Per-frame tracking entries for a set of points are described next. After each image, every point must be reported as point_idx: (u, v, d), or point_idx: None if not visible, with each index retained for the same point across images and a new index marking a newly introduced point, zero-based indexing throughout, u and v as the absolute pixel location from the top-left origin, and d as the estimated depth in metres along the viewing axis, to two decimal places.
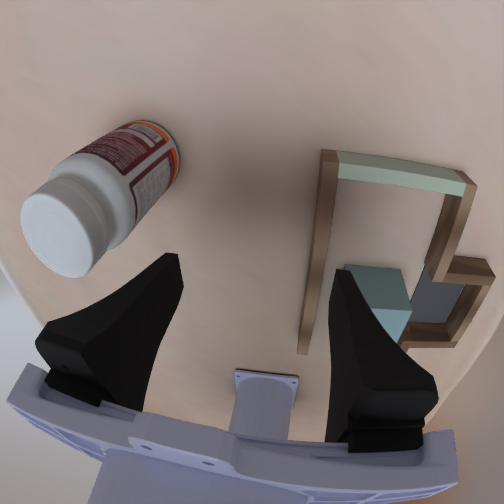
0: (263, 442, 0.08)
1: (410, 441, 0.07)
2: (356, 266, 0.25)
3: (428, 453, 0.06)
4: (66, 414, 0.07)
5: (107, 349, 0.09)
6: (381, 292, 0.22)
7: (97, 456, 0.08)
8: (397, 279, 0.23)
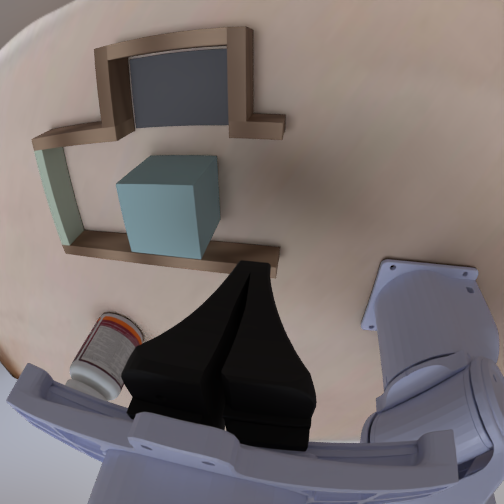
0: None
1: (292, 441, 0.07)
2: None
3: (428, 453, 0.06)
4: (66, 414, 0.07)
5: (214, 373, 0.08)
6: None
7: (97, 456, 0.08)
8: None
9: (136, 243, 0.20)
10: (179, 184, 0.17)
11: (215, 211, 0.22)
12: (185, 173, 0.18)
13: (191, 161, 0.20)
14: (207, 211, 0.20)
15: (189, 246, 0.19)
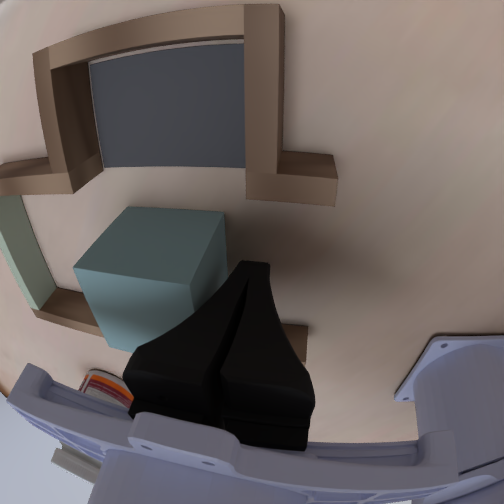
0: None
1: (291, 441, 0.07)
2: None
3: (428, 453, 0.06)
4: (66, 414, 0.07)
5: (215, 373, 0.08)
6: None
7: (97, 456, 0.08)
8: None
9: (114, 340, 0.13)
10: (166, 280, 0.10)
11: None
12: (176, 252, 0.12)
13: (186, 223, 0.13)
14: None
15: None
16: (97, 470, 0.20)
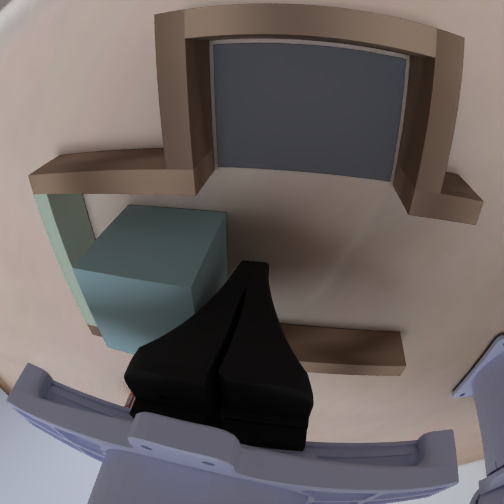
0: None
1: (289, 440, 0.07)
2: None
3: (428, 453, 0.06)
4: (66, 414, 0.07)
5: (217, 373, 0.08)
6: None
7: (97, 456, 0.08)
8: None
9: (112, 340, 0.13)
10: (167, 283, 0.10)
11: None
12: (177, 254, 0.11)
13: (187, 224, 0.13)
14: None
15: None
16: None
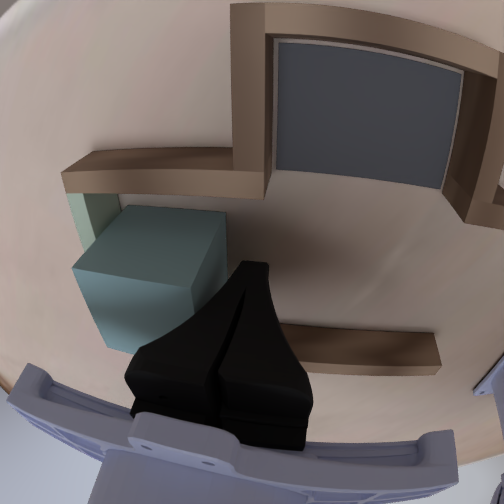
0: None
1: (289, 440, 0.07)
2: None
3: (428, 453, 0.06)
4: (66, 414, 0.07)
5: (217, 373, 0.08)
6: None
7: (97, 456, 0.08)
8: None
9: (112, 340, 0.13)
10: (167, 283, 0.10)
11: None
12: (177, 254, 0.11)
13: (186, 224, 0.13)
14: None
15: None
16: None
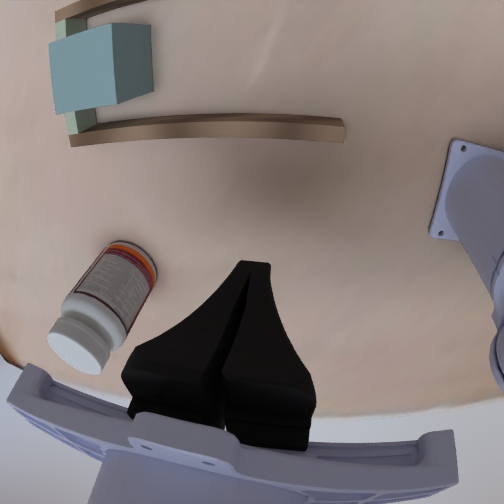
0: None
1: (292, 440, 0.07)
2: None
3: (428, 453, 0.06)
4: (66, 414, 0.07)
5: (214, 373, 0.08)
6: None
7: (97, 456, 0.08)
8: None
9: (60, 102, 0.15)
10: (100, 26, 0.12)
11: (144, 74, 0.17)
12: None
13: None
14: (131, 64, 0.15)
15: (106, 90, 0.14)
16: (102, 341, 0.20)
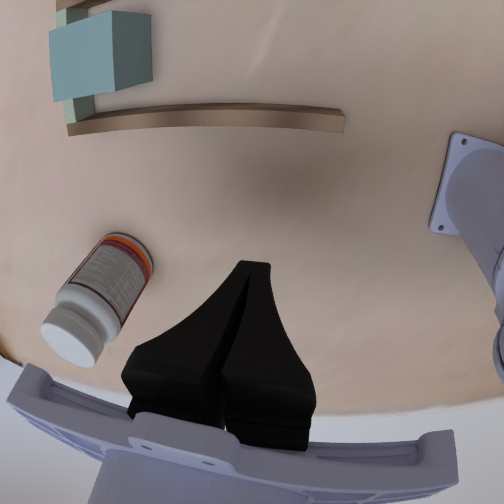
0: None
1: (292, 440, 0.07)
2: None
3: (428, 453, 0.06)
4: (66, 414, 0.07)
5: (214, 373, 0.08)
6: None
7: (97, 456, 0.08)
8: None
9: (58, 90, 0.15)
10: None
11: (144, 63, 0.17)
12: None
13: None
14: (130, 52, 0.15)
15: (104, 77, 0.14)
16: (96, 333, 0.20)
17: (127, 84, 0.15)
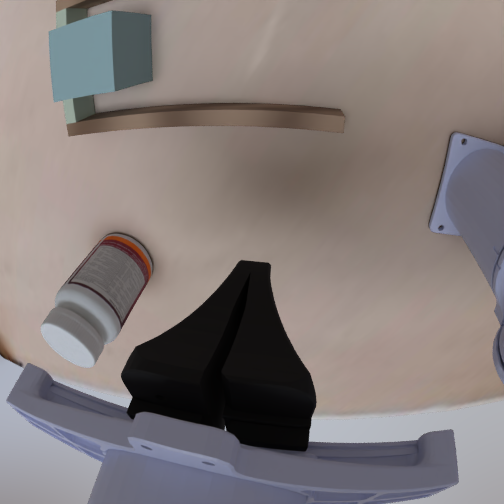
0: None
1: (292, 440, 0.07)
2: None
3: (428, 453, 0.06)
4: (66, 414, 0.07)
5: (214, 373, 0.08)
6: None
7: (97, 456, 0.08)
8: None
9: (58, 90, 0.15)
10: None
11: (143, 63, 0.17)
12: None
13: None
14: (130, 52, 0.15)
15: (104, 77, 0.14)
16: (96, 333, 0.20)
17: (127, 84, 0.15)
